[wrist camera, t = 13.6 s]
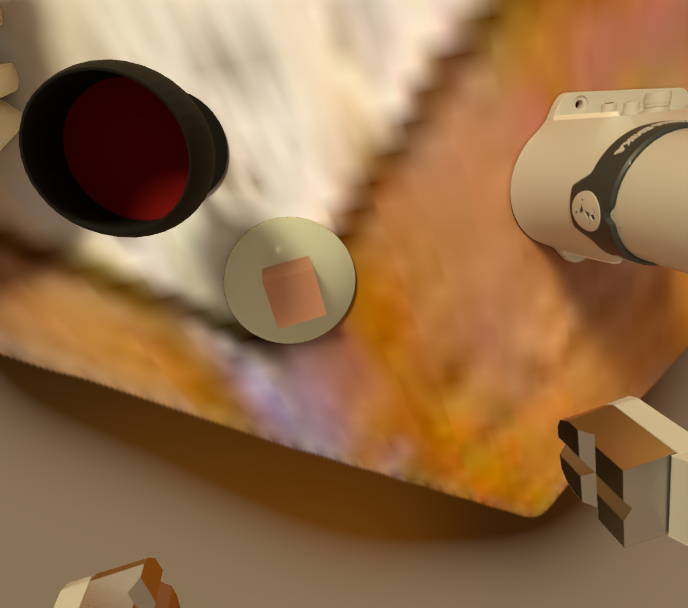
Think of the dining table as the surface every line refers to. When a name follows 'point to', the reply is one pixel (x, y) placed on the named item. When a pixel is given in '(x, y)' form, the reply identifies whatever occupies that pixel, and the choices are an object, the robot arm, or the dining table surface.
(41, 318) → the dining table surface
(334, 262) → the tile
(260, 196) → the dining table surface
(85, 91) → the wine glass
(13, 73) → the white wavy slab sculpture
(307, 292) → the orange cube
